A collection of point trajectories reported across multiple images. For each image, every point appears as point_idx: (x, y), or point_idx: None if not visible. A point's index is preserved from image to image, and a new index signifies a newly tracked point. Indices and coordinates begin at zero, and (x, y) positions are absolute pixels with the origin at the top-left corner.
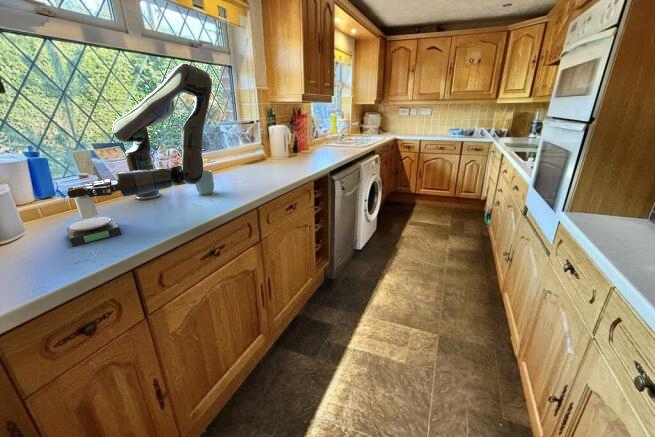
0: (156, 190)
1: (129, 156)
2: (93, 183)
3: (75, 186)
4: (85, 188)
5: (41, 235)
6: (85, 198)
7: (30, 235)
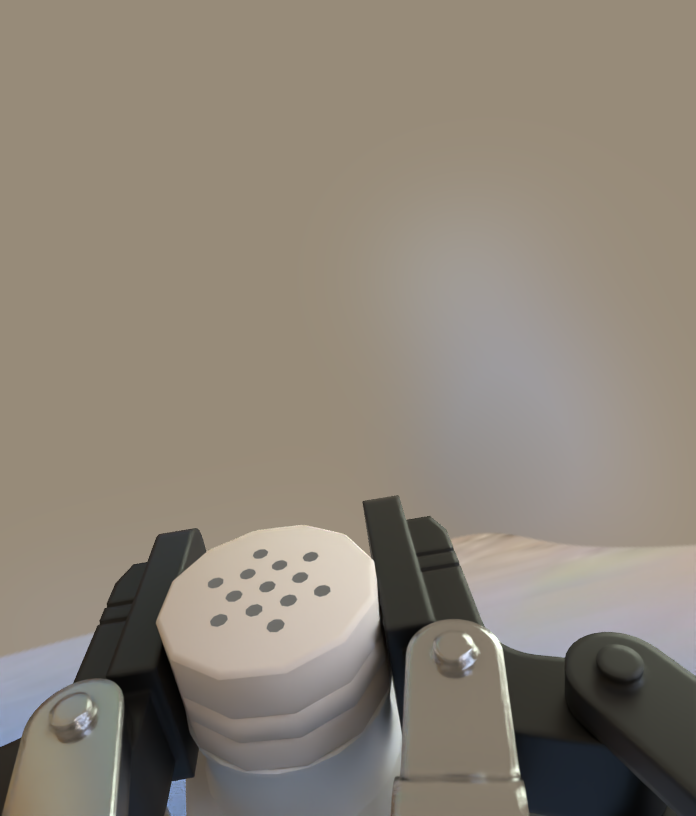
0: None
1: None
2: (401, 800)
3: (301, 544)
4: (28, 721)
5: (601, 616)
6: (189, 803)
7: (625, 567)
